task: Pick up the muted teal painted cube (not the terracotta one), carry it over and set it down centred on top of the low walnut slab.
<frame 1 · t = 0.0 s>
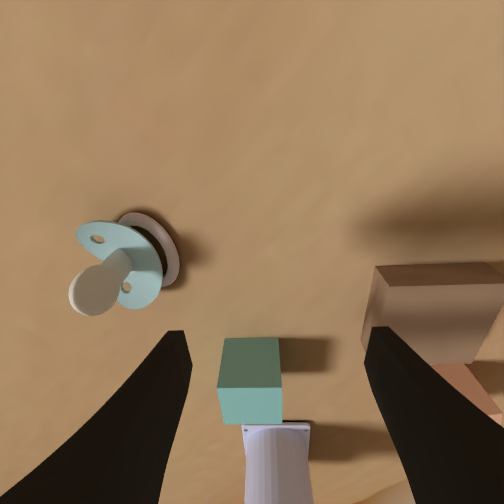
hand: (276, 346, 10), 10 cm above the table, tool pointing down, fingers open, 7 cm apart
teal cube: (252, 355, 26), on the table
walnut slab: (413, 302, 22), on the table
terracotta cube: (432, 380, 26), on the table
pacifier: (142, 250, 20), on the table
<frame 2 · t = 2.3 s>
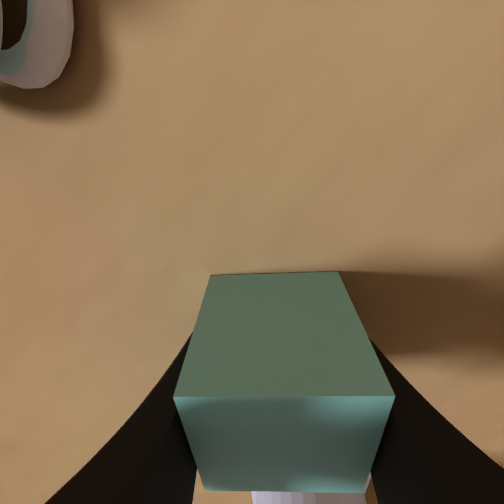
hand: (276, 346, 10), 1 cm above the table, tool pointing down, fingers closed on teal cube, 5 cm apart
teal cube: (274, 320, 11), on the table, touching gripper
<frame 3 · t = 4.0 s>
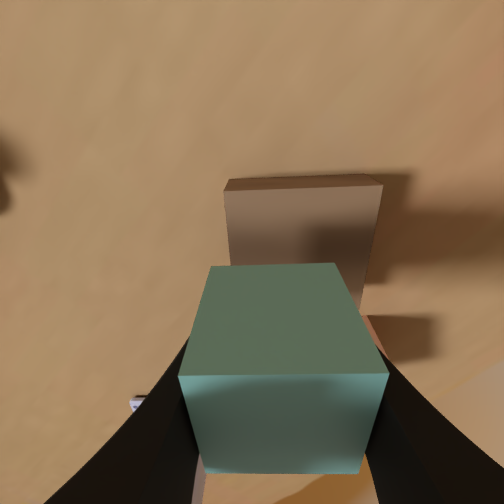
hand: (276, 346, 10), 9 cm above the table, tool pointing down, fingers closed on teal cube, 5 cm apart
teal cube: (272, 311, 12), point 7 cm above the table, touching gripper
walnut slab: (293, 235, 18), on the table
when the fingers open (5 cm above the table, at t = 5.6 s): teal cube drops 1 cm, point 3 cm above the table.
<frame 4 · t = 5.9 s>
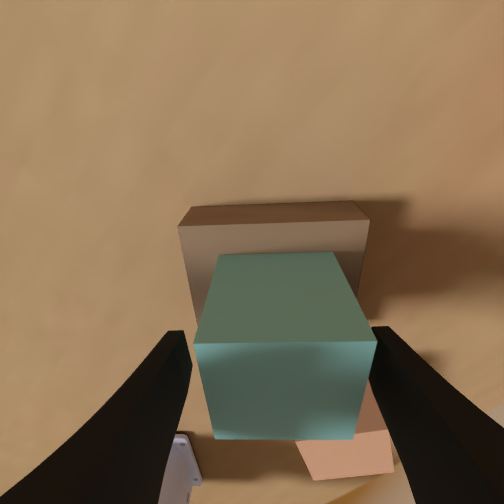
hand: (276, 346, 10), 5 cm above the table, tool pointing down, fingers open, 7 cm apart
teal cube: (275, 298, 13), point 3 cm above the table
walnut slab: (271, 266, 15), on the table
terracotta cube: (328, 379, 20), on the table
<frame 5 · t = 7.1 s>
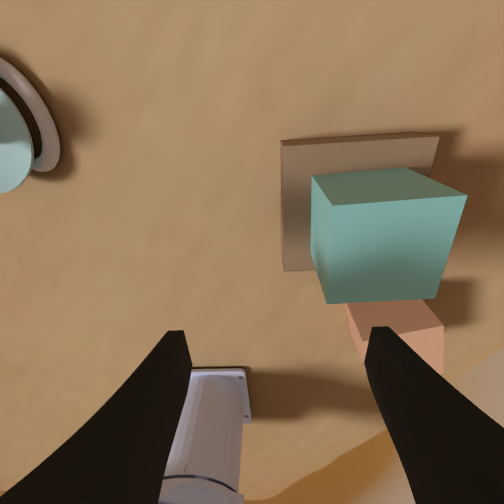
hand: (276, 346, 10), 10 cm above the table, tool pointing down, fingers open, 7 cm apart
teal cube: (353, 214, 16), point 2 cm above the table, touching walnut slab
walnut slab: (338, 197, 18), on the table, touching teal cube
terracotta cube: (376, 309, 22), on the table
pacifier: (14, 121, 16), on the table
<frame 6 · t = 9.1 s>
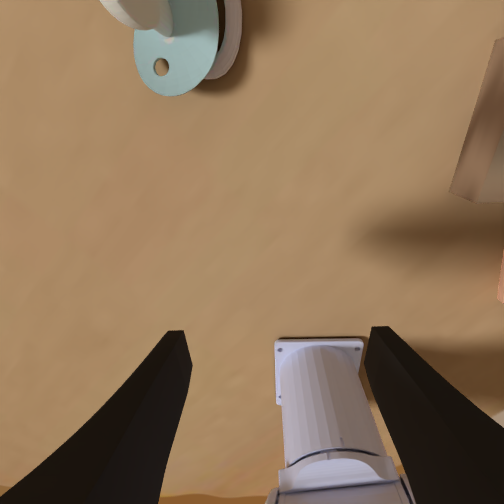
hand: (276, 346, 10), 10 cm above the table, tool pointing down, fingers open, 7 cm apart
pacifier: (186, 14, 14), on the table
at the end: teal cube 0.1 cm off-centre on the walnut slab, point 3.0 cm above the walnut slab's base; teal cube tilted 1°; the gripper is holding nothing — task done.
